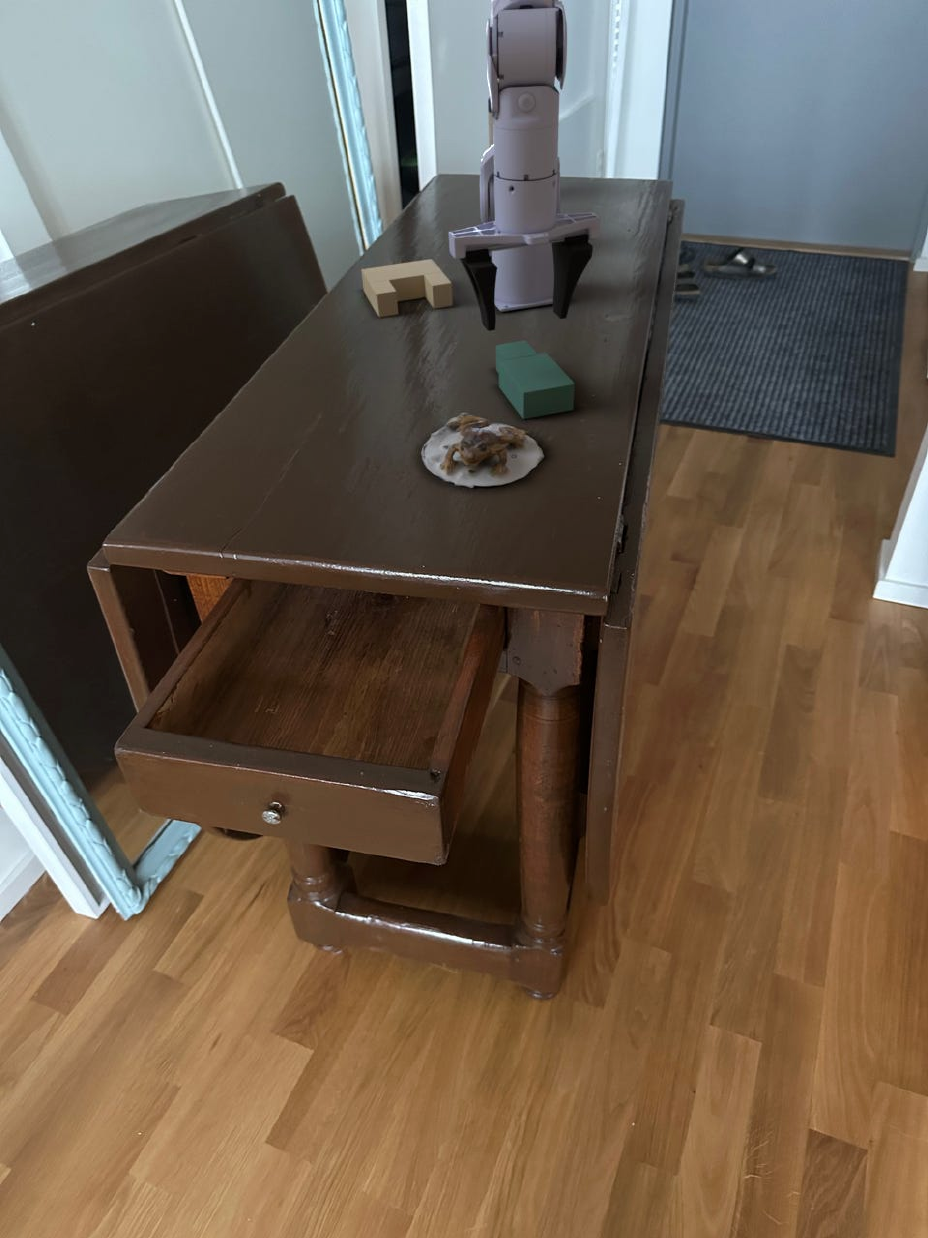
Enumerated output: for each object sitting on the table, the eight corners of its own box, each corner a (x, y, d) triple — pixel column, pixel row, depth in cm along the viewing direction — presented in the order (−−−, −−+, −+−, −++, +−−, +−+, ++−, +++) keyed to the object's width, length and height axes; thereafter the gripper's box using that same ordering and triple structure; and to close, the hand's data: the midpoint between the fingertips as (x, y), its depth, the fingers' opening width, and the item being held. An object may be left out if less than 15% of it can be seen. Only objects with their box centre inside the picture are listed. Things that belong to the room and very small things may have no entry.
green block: (533, 363, 94) (534, 338, 92) (573, 410, 86) (575, 383, 84) (487, 371, 93) (486, 346, 91) (523, 419, 85) (523, 392, 83)
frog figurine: (537, 492, 74) (538, 455, 72) (408, 484, 76) (405, 448, 74) (549, 430, 83) (550, 395, 80) (433, 424, 85) (431, 390, 82)
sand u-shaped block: (433, 280, 116) (431, 258, 114) (452, 305, 108) (451, 282, 106) (363, 291, 114) (361, 268, 112) (379, 317, 107) (376, 294, 105)
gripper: (461, 193, 70) (467, 347, 79) (617, 173, 73) (606, 324, 82) (439, 174, 75) (447, 320, 84) (586, 155, 78) (579, 299, 87)
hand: (524, 320), depth 83 cm, fingers open, 7 cm apart
